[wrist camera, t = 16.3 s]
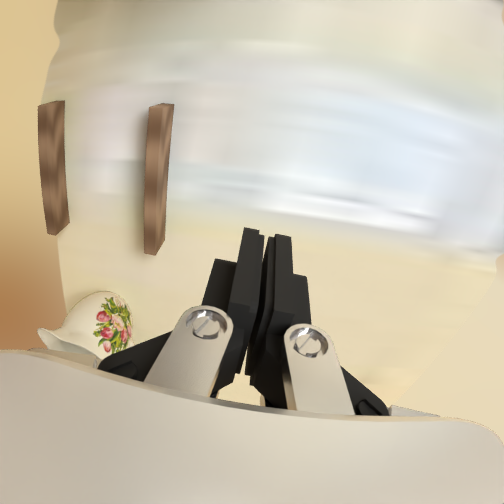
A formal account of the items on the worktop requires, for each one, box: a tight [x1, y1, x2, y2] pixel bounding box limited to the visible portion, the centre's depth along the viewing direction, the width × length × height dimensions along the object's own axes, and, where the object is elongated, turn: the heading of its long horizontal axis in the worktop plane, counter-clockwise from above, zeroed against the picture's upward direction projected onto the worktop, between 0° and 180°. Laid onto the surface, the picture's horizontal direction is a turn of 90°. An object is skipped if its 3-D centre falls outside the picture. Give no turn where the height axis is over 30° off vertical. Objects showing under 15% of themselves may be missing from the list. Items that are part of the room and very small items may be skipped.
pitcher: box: [37, 291, 135, 359], centre depth 45 cm, size 11×18×14 cm, turn 31°
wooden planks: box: [38, 101, 174, 255], centre depth 36 cm, size 18×17×4 cm
